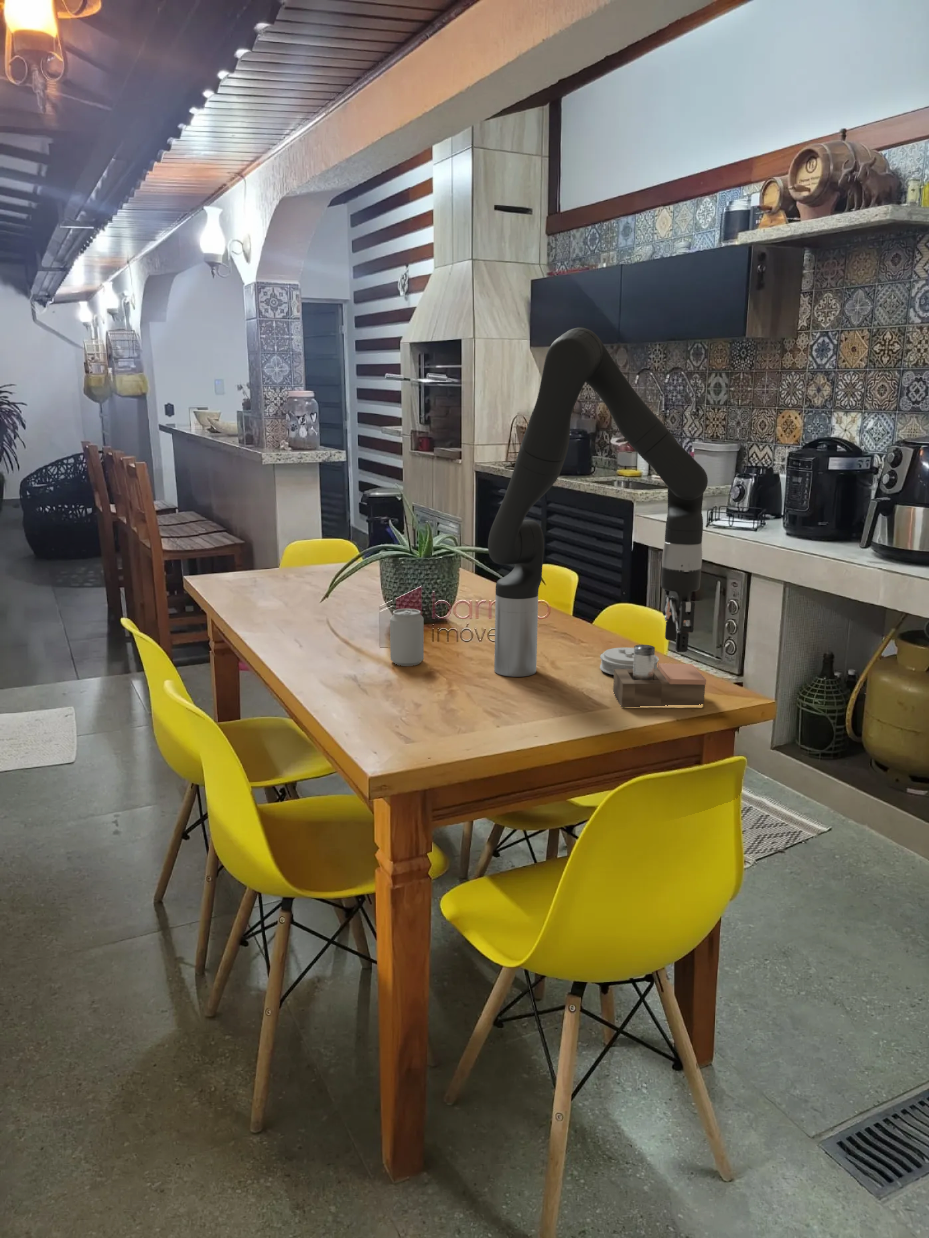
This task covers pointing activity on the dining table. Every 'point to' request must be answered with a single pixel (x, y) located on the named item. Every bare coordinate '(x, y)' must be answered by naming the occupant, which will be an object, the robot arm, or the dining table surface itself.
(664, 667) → the pink flat board
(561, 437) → the robot arm
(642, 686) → the socket block
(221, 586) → the dining table surface
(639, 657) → the pin
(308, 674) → the dining table surface
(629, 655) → the lid
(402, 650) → the can
